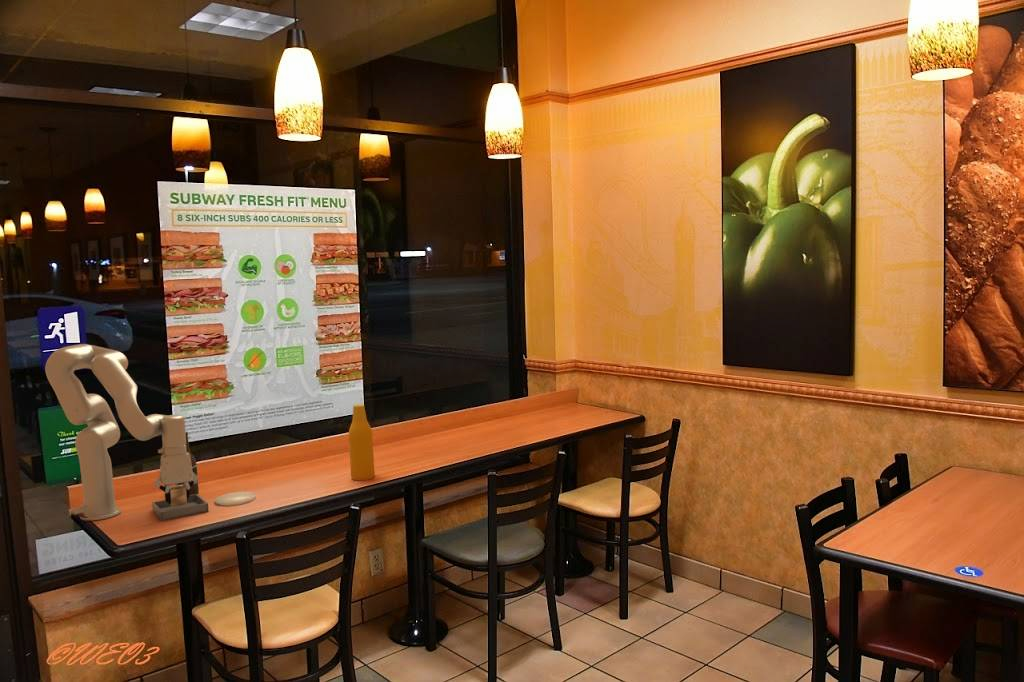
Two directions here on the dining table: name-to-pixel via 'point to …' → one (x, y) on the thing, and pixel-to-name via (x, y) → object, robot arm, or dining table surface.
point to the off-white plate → (235, 498)
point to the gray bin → (180, 508)
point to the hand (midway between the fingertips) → (177, 501)
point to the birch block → (178, 495)
